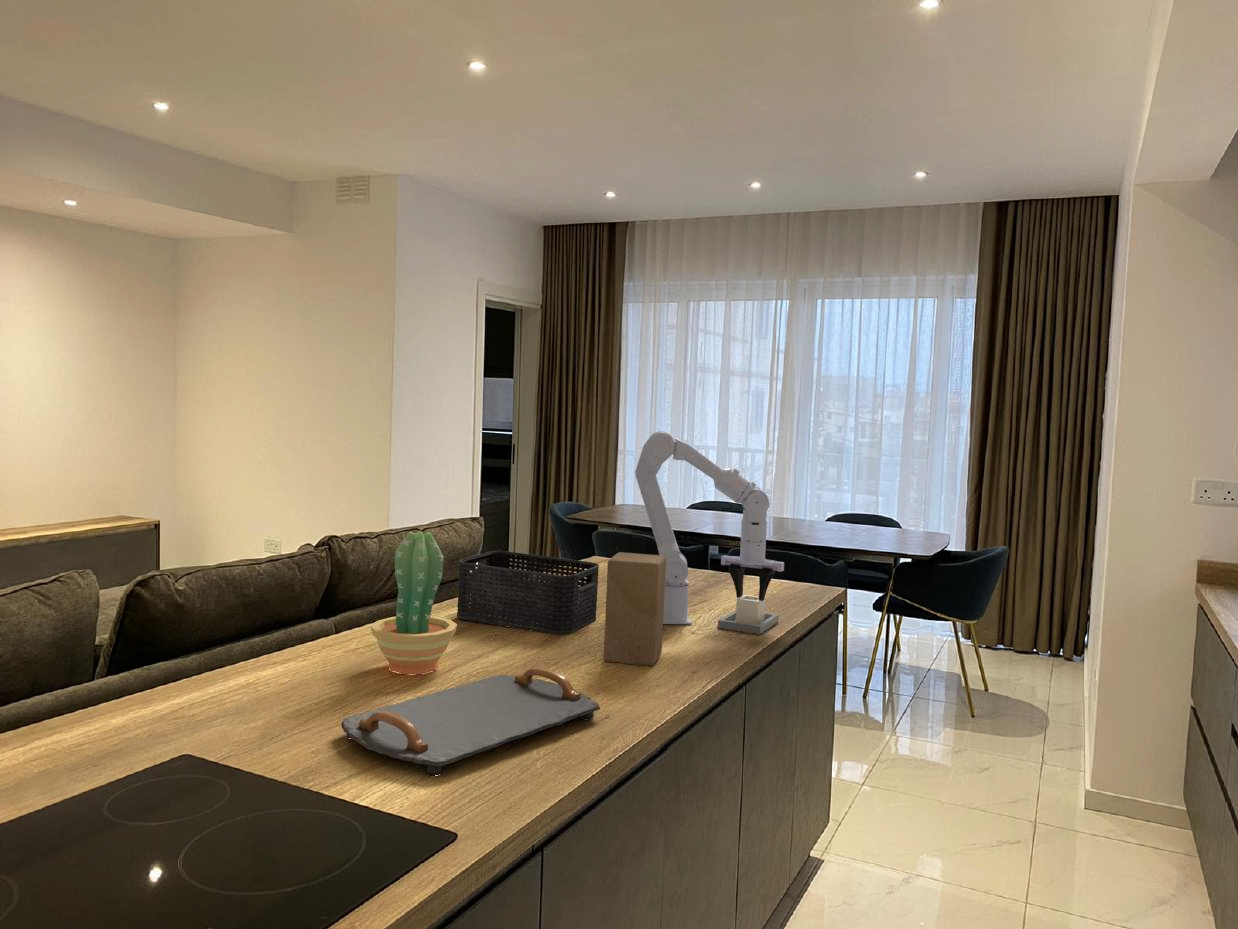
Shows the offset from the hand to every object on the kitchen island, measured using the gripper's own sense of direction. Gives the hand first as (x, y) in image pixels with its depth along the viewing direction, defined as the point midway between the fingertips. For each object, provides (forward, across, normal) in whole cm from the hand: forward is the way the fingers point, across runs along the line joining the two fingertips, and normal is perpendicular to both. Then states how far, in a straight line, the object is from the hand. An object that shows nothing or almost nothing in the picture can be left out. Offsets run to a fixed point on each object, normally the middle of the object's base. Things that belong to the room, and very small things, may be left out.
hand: (750, 598), depth 210 cm
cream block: (+6, 0, 0) cm, 6 cm away
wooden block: (+6, -11, -40) cm, 42 cm away
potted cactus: (+6, -41, -70) cm, 81 cm away
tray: (+6, 0, 0) cm, 6 cm away
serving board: (+7, -14, -88) cm, 89 cm away
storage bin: (+6, -44, -26) cm, 52 cm away
